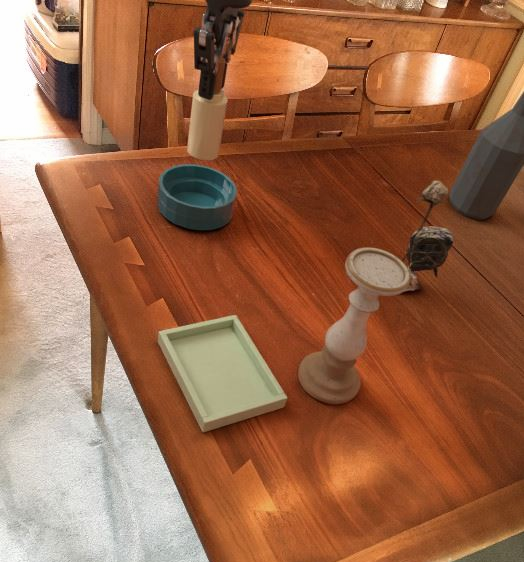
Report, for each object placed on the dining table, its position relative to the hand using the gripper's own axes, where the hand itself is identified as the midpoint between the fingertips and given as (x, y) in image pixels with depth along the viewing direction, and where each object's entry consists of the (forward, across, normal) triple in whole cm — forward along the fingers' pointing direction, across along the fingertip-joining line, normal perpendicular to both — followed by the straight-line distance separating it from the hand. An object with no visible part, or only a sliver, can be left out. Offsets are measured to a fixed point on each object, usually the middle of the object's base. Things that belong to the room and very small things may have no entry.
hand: (211, 91), depth 83 cm
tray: (+21, +33, +17) cm, 43 cm away
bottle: (+21, -35, +49) cm, 64 cm away
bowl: (+21, 0, 0) cm, 21 cm away
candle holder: (+21, +27, +31) cm, 46 cm away
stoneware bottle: (+10, 0, 0) cm, 10 cm away
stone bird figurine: (+21, -1, +38) cm, 43 cm away
